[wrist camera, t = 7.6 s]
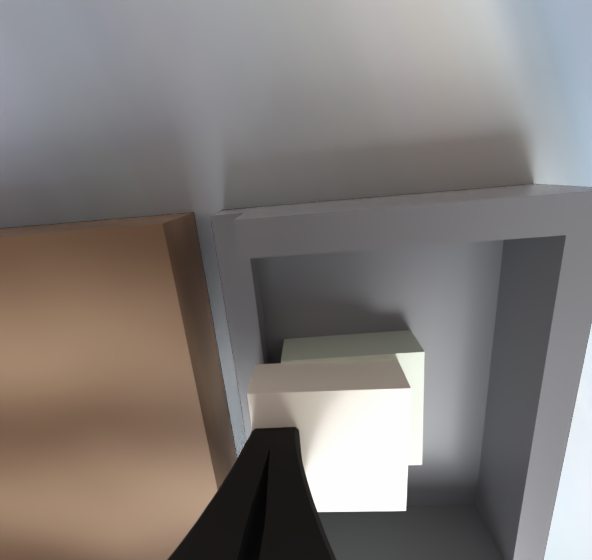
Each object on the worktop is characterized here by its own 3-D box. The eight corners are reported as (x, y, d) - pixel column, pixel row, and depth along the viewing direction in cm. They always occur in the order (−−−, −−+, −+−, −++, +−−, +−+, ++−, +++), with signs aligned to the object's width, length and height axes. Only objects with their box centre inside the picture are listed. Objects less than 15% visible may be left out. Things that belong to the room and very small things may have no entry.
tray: (493, 511, 15) (536, 593, 12) (268, 517, 15) (259, 596, 13) (535, 183, 11) (618, 188, 8) (222, 209, 11) (193, 223, 8)
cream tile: (394, 470, 12) (405, 510, 10) (268, 472, 12) (263, 512, 11) (397, 358, 10) (411, 388, 9) (255, 364, 11) (246, 393, 9)
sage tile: (410, 433, 13) (422, 464, 12) (296, 438, 13) (294, 470, 12) (410, 329, 12) (424, 351, 10) (284, 338, 12) (280, 361, 11)
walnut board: (247, 518, 15) (236, 580, 13) (22, 523, 16) (-27, 584, 14) (193, 212, 11) (162, 223, 9) (-109, 237, 12) (-213, 254, 10)
